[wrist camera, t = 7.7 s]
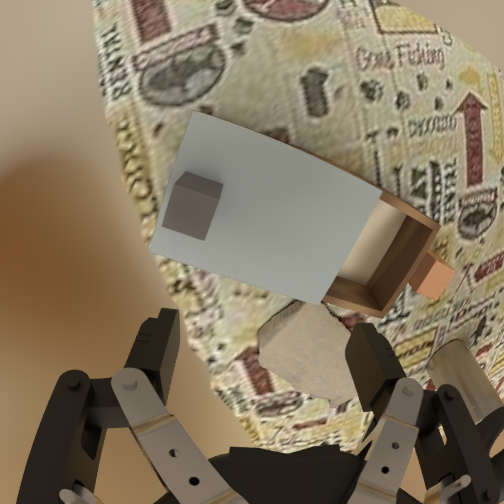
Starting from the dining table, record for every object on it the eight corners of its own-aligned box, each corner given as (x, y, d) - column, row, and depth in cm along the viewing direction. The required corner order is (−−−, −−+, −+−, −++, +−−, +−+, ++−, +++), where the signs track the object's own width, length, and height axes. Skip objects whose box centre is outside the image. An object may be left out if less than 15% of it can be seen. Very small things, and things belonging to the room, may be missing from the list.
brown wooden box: (412, 206, 30) (441, 226, 24) (364, 288, 35) (382, 318, 29) (292, 144, 26) (305, 152, 21) (246, 248, 31) (247, 278, 26)
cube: (438, 254, 33) (456, 271, 29) (421, 281, 35) (436, 300, 31) (417, 243, 32) (436, 260, 28) (400, 272, 34) (416, 292, 30)
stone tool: (387, 365, 44) (313, 282, 34) (395, 382, 40) (320, 303, 31) (326, 400, 48) (233, 336, 38) (330, 416, 44) (233, 358, 34)
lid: (378, 188, 22) (406, 207, 18) (316, 300, 27) (328, 334, 23) (195, 110, 19) (182, 109, 15) (151, 247, 24) (135, 276, 20)
